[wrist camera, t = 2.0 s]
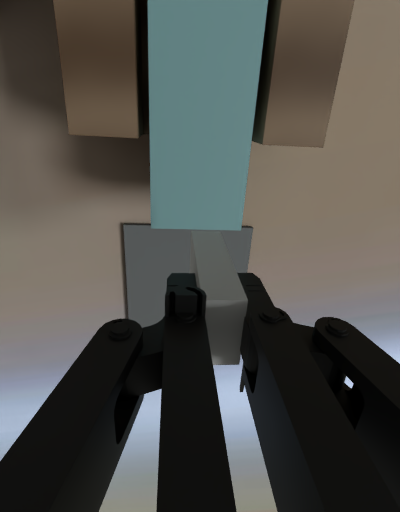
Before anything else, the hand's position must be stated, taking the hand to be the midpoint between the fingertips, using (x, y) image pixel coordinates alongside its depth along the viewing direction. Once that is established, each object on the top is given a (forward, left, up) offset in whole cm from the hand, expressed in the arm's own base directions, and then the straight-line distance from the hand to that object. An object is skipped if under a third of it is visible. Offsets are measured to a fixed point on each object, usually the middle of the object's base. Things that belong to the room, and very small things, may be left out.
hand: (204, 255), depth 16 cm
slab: (-6, 0, -8) cm, 11 cm away
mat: (+10, 0, -12) cm, 16 cm away
